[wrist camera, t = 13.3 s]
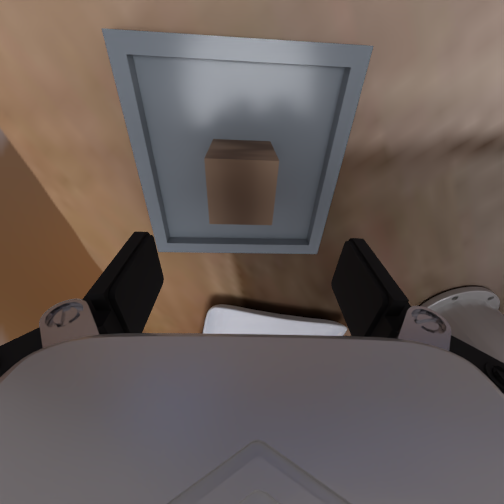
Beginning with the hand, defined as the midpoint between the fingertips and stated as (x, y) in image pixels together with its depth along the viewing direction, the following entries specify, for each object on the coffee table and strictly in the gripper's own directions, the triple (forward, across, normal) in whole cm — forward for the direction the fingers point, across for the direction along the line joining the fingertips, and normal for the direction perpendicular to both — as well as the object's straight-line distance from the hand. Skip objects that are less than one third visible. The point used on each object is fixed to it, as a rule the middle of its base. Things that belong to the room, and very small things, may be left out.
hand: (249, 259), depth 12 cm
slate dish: (+14, +1, -1) cm, 14 cm away
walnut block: (+13, +1, -1) cm, 13 cm away
